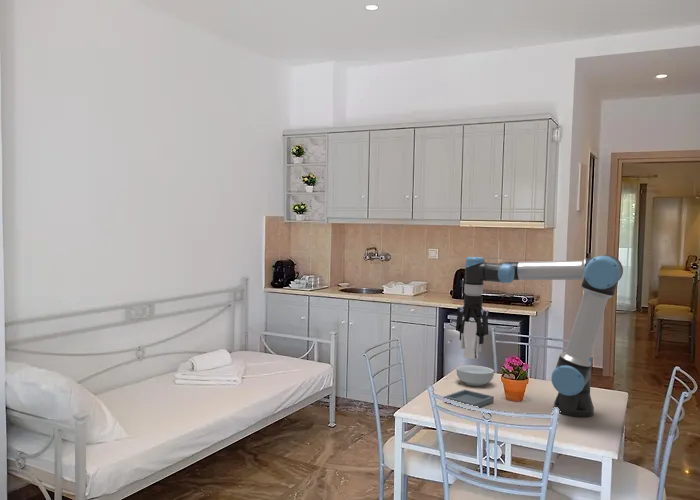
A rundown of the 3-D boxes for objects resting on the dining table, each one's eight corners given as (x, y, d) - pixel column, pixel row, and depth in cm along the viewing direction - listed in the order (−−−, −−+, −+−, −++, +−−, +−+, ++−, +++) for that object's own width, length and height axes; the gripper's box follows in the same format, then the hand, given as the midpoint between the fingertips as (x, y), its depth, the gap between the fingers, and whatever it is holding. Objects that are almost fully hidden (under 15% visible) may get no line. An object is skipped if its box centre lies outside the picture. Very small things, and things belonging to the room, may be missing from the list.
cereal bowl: (498, 383, 284) (499, 368, 284) (486, 391, 270) (486, 375, 270) (463, 377, 293) (464, 362, 293) (450, 384, 279) (451, 369, 279)
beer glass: (480, 359, 248) (482, 322, 247) (463, 358, 248) (465, 322, 247) (477, 355, 254) (479, 320, 254) (460, 355, 255) (462, 319, 254)
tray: (493, 402, 253) (493, 396, 253) (473, 410, 241) (473, 404, 241) (464, 395, 262) (464, 389, 262) (443, 402, 251) (443, 396, 251)
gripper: (499, 296, 246) (496, 353, 247) (457, 291, 259) (455, 345, 260) (490, 297, 240) (487, 355, 241) (448, 292, 254) (445, 347, 255)
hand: (470, 350), depth 251 cm, fingers closed on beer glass, 7 cm apart
